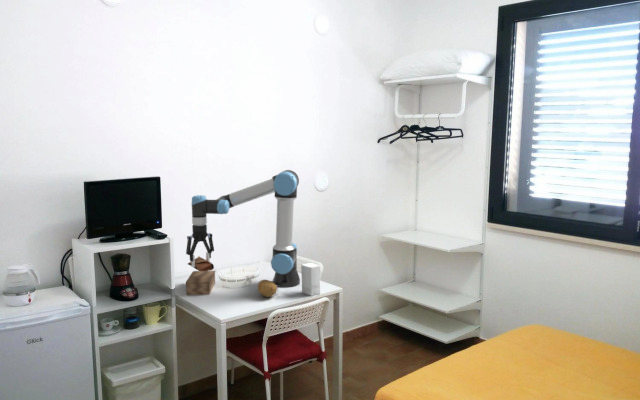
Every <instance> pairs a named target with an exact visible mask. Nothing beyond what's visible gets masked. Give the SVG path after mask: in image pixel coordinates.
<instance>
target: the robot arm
mask: <svg viewBox="0 0 640 400" xmlns="http://www.w3.org/2000/svg"><path fill="white" fill-rule="evenodd" d="M299 183H300V179H299V176H298V174H297V173H296V171H293V170H290V169H286V170H283V171H281V172H279V173H278V174H276V175H273V176H271V178H269V179H268V180H264V181H262V182H259V183H256V184H253V185H251V186H247V187H245V188H242V189H240V190H236V191H233V192H231V193H228V194H226V195H225V194H224V195H221V196H220V197H218V198H217V199H207V197H206V195H202V194H201V195H199V194H198V195H193V196H192V197H191V224H192V227H191V228H192V233H191V235H187V236H186V238H187V242H186V243H187V244H186V249H185V250H186V251H185V255H188V256H189V262H191V264H192V266H191V267H192V268H194V267H195V259H196V258H195V255H194V254H195V251H196V249H197V245H198V244H199V243H200V242H202V243H203V245H204V247H205V249H206V252H205V260H207V261H208V262H211V260H210V259H211V258H212V253H213V252H214V251H215V247H214V241H213V234H212V233H210V232H209V233H208V232H207V231H208V225H207V223H208V221H207V220H208V219H207V215H208V214H209V215H211V214H213V215H227V214H228V213H229V211H230V209H231V208H234V207H237V206H239V205H243V204H245V203H247V202H252V201H255V200H257V199H260V198H263V197H265V196H268V195H271V194H274V198H275V199H276V200H277V203H276V227H275V228H276V231H275V245H273V246H272V255H271V256H272V257H271V260H270V266H271V269H272V270H273V271H274V272H275V273H274V275H273V279H272V282H274V283H275V285H276V287H280V288H281V287H282V288H290V287H292V288H293V287H296V286H298V285H300V282H301V279H300V276H299V272H298V269H297V268H298V267H297V266H298V264H297V263H298V260H297V259H298V257H297V254H298V251H297V250H298V247H297V244H296V243H294V242H293V228H294V227H293V226H294V203H295V202H294V201H295V200H296V199H297V198H298V197H297V196H298V186H299ZM207 239H208V241H207ZM192 240H193V242H192ZM194 269H195V268H194Z"/></svg>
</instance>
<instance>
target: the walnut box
mask: <svg viewBox="0 0 640 400" xmlns="http://www.w3.org/2000/svg"><path fill="white" fill-rule="evenodd" d="M215 284H216V270H210V271H198V270H193V271H192V272H191V273H190V275H189V277H188V278H187V279H186V281H185V286H186V287H185V288H186V289H185V292H186V293H185V294H186V295H187V296H192V295H193V296H200V295H201V296H202V295H205V296H206V295H211V293H212V290H213V288H214V287H215Z"/></svg>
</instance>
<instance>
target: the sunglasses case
mask: <svg viewBox="0 0 640 400" xmlns="http://www.w3.org/2000/svg"><path fill="white" fill-rule="evenodd" d="M187 265H189V266H191V267H192V264H191V261H189V262H187ZM214 268H215V265H214V264H213V263H212V262H211V261H210V262H208V261H207V260H206V258H203V257H201V256H200V255H198V257H196V258H195V267H194V269H195V271H214Z"/></svg>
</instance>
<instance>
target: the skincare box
mask: <svg viewBox="0 0 640 400" xmlns="http://www.w3.org/2000/svg"><path fill="white" fill-rule="evenodd" d="M320 267H321V266H320V264H315V263H312V262H308V263H303V264H301V267H300V269H301V270H300V271H301V272H300V273H301V293H302V294H306V295H308V296H310V297H313V296H317V295H320V294H321V274H320V272H321V271H320Z"/></svg>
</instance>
